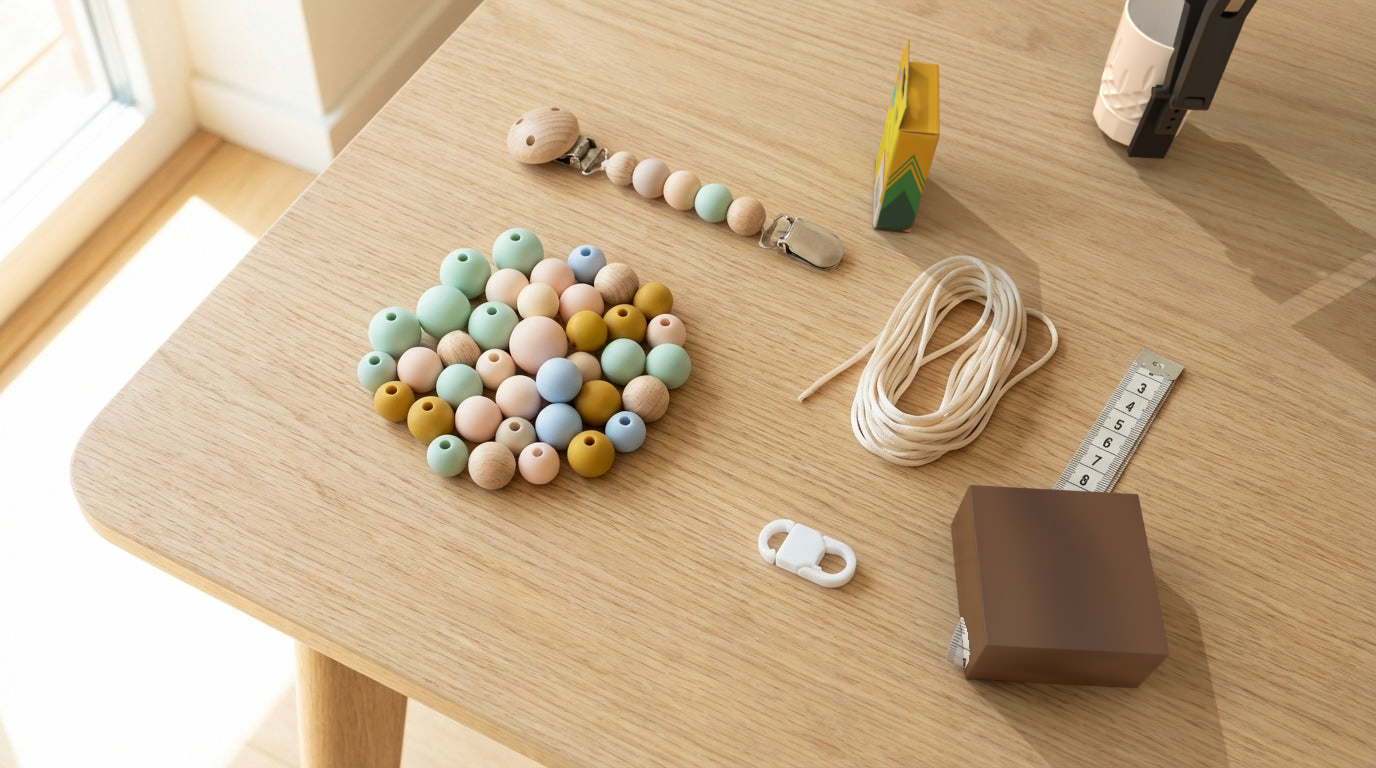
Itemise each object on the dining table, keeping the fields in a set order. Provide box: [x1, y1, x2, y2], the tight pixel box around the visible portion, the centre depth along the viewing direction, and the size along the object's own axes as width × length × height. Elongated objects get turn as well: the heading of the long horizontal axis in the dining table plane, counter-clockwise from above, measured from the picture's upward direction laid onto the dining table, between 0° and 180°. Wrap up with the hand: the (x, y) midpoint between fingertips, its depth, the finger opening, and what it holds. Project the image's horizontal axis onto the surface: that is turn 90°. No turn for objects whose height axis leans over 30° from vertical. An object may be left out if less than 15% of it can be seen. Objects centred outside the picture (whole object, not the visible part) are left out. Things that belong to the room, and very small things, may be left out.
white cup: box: [1092, 0, 1193, 147], centre depth 91 cm, size 8×8×10 cm
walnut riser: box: [950, 484, 1170, 689], centre depth 71 cm, size 10×10×5 cm
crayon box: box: [872, 38, 940, 233], centre depth 86 cm, size 7×3×12 cm, turn 173°
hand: (1136, 116), depth 95 cm, fingers closed on white cup, 7 cm apart
